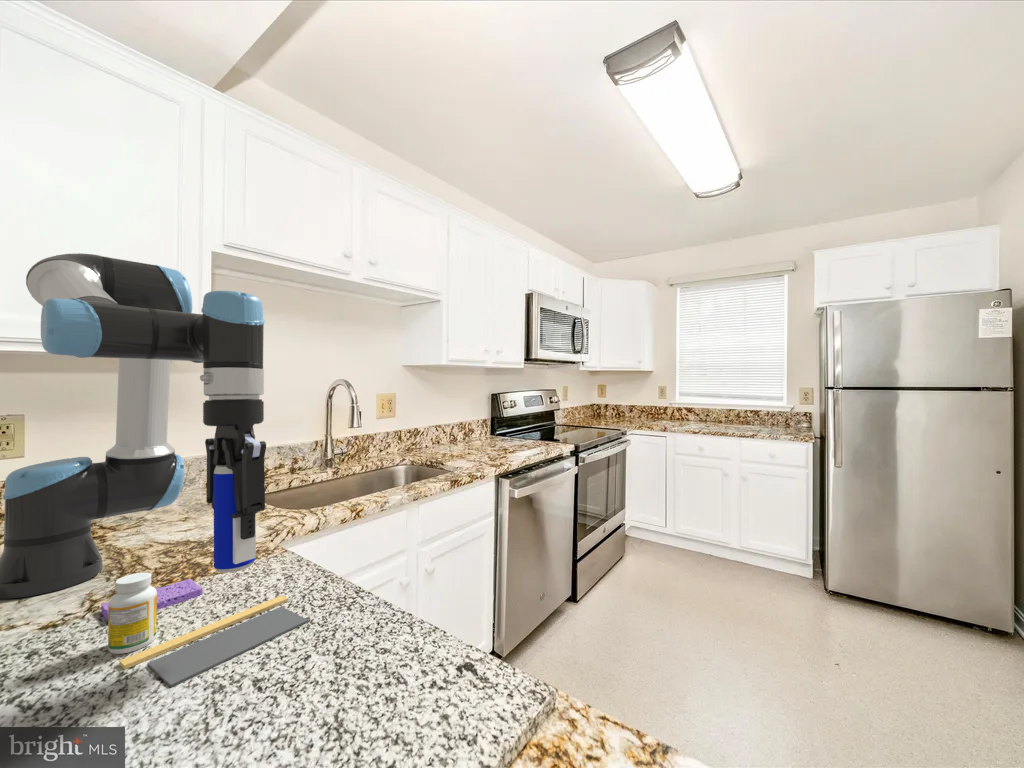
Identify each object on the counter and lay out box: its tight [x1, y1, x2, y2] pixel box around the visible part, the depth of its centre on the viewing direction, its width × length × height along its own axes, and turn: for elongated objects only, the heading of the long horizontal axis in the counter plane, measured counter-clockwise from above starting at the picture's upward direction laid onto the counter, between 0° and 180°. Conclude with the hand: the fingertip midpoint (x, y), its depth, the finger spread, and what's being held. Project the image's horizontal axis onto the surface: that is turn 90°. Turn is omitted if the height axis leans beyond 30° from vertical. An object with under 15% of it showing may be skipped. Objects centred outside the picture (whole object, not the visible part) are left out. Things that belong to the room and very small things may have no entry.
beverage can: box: [213, 465, 257, 574], centre depth 63 cm, size 5×5×15 cm
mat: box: [146, 606, 309, 688], centre depth 63 cm, size 8×18×1 cm, turn 146°
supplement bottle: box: [107, 572, 158, 655], centre depth 63 cm, size 5×5×10 cm
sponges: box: [100, 578, 204, 621], centre depth 75 cm, size 7×13×2 cm, turn 142°
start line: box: [119, 594, 289, 670], centre depth 67 cm, size 2×22×1 cm, turn 146°
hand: (234, 556), depth 63 cm, fingers closed on beverage can, 5 cm apart
